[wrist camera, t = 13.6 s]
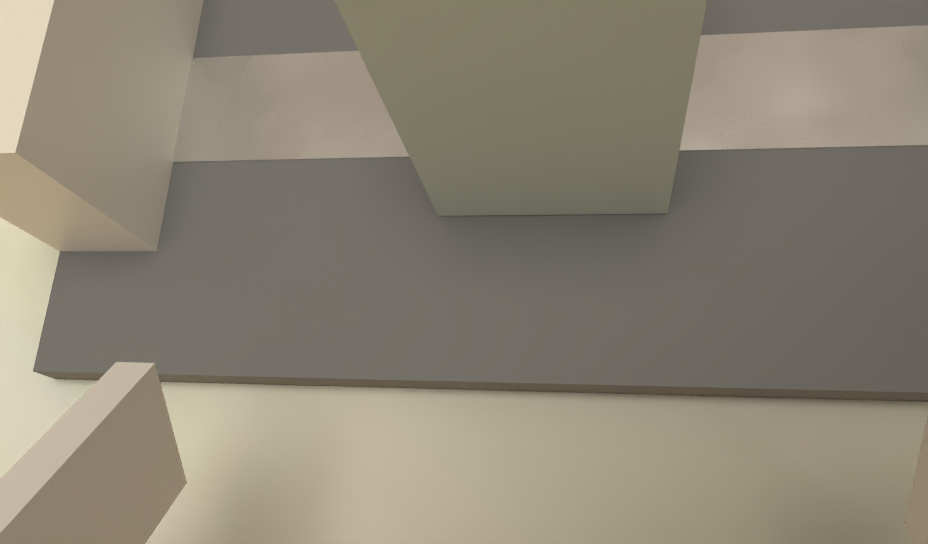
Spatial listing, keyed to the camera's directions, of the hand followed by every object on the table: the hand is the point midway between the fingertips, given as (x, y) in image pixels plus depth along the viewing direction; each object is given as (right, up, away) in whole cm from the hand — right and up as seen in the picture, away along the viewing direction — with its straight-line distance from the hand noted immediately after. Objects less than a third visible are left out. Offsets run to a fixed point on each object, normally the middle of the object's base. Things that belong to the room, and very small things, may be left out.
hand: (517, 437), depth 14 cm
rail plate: (+2, +7, +9) cm, 12 cm away
